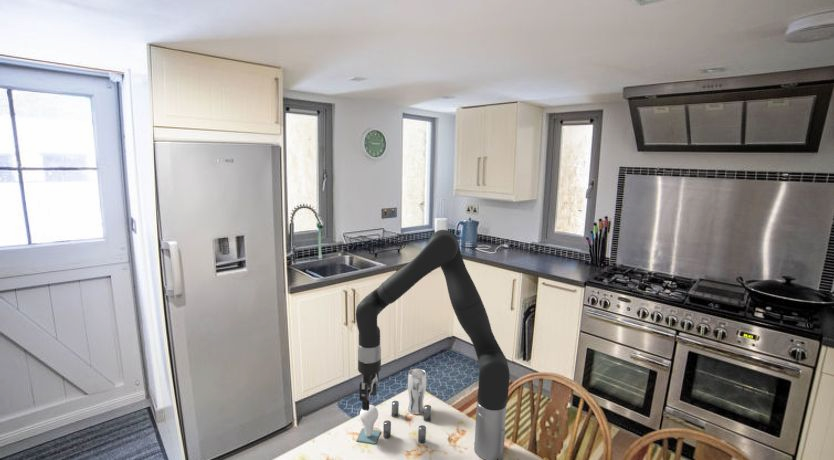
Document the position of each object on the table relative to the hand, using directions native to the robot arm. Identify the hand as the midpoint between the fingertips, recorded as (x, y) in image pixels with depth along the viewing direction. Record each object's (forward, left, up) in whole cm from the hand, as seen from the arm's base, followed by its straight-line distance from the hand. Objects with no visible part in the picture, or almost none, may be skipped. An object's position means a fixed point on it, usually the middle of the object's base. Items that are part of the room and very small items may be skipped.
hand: (369, 402), depth 135 cm
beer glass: (-13, -18, -13) cm, 26 cm away
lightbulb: (0, 0, -12) cm, 12 cm away
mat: (0, 0, -13) cm, 13 cm away
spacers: (-12, -7, -13) cm, 19 cm away
